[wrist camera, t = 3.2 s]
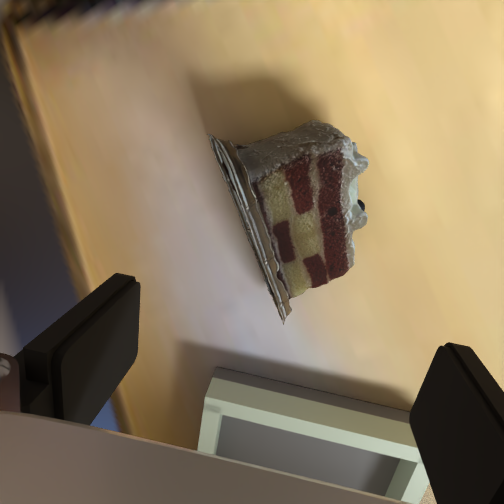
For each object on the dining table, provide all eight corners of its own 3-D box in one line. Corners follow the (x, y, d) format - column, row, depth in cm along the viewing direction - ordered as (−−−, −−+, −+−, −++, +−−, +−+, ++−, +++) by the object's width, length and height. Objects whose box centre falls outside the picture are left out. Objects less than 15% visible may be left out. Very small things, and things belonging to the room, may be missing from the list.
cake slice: (385, 291, 22) (438, 154, 12) (284, 333, 22) (251, 229, 12) (321, 189, 27) (320, 32, 17) (237, 223, 27) (187, 83, 17)
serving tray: (427, 416, 25) (442, 454, 22) (380, 522, 30) (388, 566, 27) (216, 366, 27) (205, 396, 24) (200, 475, 31) (188, 511, 28)
